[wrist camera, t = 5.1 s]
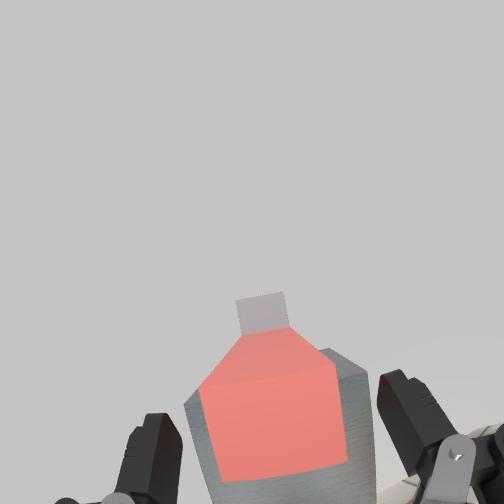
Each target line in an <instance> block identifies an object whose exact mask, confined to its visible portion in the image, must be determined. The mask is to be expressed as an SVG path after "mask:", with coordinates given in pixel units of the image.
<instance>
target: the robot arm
mask: <svg viewBox="0 0 504 504" xmlns="http://www.w3.org/2000/svg"><path fill="white" fill-rule="evenodd" d="M377 408H378V411H379V414H380V416H381V418H382V420H383V422H384V425H385V427H386V429H387V431H388V433H389V435H390V437H391V439H392V441H393V444H394V446H395V448H396V450H397V452H398V454H399V457H400V459H401V461H402V463H403V465H404V468H405V470H406V472H407V474H408V477H411V476H413V475H415V474H417V473H418V475H419V478H420V481H419V484H418V487H417V490H416V492H415V495H414V498H413V501H412V503H411V504H467V503H466V498H467V494H468V490H469V486H472V488H473V490H474V493H475V495H476V497H477V500H478V502H479V504H504V424H502V425H501V426H500V427H499V428H498V430H497V431H496V433H494V434H490V435H486V436H482V437H478V438H470V437H468V436H466V435H462V434H459V433H458V432H457V431H456V430H455V428H454V427H453V425H452V424H451V422H450V421H449V419H448V418H447V416H446V415H445V413H444V412H443V410H442V409H441V407H440V406H439V404H438V403H437V401H436V400H435V398H434V397H433V396H432V395H431V393H430V391H429V389H428V388H427V387H426V385H425V384H424V383H422V382H421V381H419V380H418V379H416V378H415V377H414V378H412V379H409V380H408V379H407V378H406V376H405V374H404V373H403V372H402V371H401V370H400V369H398V370H395V371H392V372H389V373H386V374H383V375H381V376H380V381H379V388H378V396H377ZM182 450H183V444H182V438H181V436H180V434H179V432H178V431H177V429H176V427H175V426H174V424H173V422H172V420H171V419H170V417H169V415H168V414H167V413H149V414H147V415H146V416H145V420H144V424H143V427H138V426H137V427H136V428H135V430H134V431H133V432H132V434H131V435H130V436H129V439H128V443H127V449H126V450H125V454H124V458H123V462H122V465H121V469H120V473H119V477H118V481H117V485H116V489H115V491H114V493H112V494H109V495H108V496H106V497H105V498H104V499H103V500H102V502H97V503H89V504H177V495H178V485H179V475H180V466H181V458H182ZM55 504H79V503H78V502H76V501H75V500H73V499H71V498H62V499H60V500H58V501H57V502H56V503H55Z"/></svg>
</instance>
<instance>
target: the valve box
mask: <svg viewBox="0 0 504 504" xmlns="http://www.w3.org/2000/svg"><path fill="white" fill-rule="evenodd" d="M319 351H320V352H321V353H322V354H323V355H325V356H326V357H327V358H328V359H330V360H331V361H332V362H333V363H335V367H336V373H337V380H338V387H339V394H340V401H341V408H342V416H343V424H344V433H345V442H346V451H347V462H343V463H340V464H336V465H332V466H328V467H324V468H319V469H315V470H310V471H305V472H300V473H295V474H290V475H284V476H277V477H270V478H263V479H255V480H245V481H234V482H222V478H221V475H220V471H219V468H218V465H217V461H216V457H215V454H214V450H213V446H212V443H211V439H210V435H209V431H208V427H207V423H206V419H205V415H204V411H203V407H202V402H201V398H200V394H199V389H197V390H196V391H195V392H194V393H193V394H192V396H191V397H190V398H189V399H188V400H187V401H186V402H185V403H184V407H185V412H186V416H187V419H188V423H189V427H190V431H191V435H192V438H193V442H194V445H195V449H196V452H197V456H198V459H199V462H200V466H201V469H202V472H203V475H204V478H205V481H206V485H207V488H208V491H209V494H210V497H211V500H212V502H213V504H376V469H375V468H376V466H375V447H374V434H373V433H374V432H373V420H372V410H371V400H370V392H369V382H368V374H367V371H366V370H364V369H363V368H361V367H359V366H358V365H356V364H354V363H353V362H351V361H349V360H348V359H346V358H345V357H343V356H342V355H340V354H338V353H337V352H335V351H334V350H332V349H330V348H327V349H323V350H319Z"/></svg>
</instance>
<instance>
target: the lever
mask: <svg viewBox="0 0 504 504" xmlns="http://www.w3.org/2000/svg"><path fill="white" fill-rule="evenodd" d="M236 306H237V311H238V316H239V322H240V327H241V333H242V336H241V337H240V339H239V340H238V341H237V342H236V344H235V345H234V346H233V347H232V348H231V350H230V351H229V352H228V353H227V354H226V356H225V357H224V358H223V359H222V360H221V362H220V363H219V364H218V365H217V366H216V367H215V369H214V370H213V371H212V372H211V373H210V375H209V376H208V377H207V378H206V379H205V380H204V382H203V383H202V384H201V385H200V386H199V387H198V389H199V394H200V398H201V402H202V407H203V411H204V415H205V419H206V423H207V427H208V431H209V435H210V439H211V443H212V446H213V450H214V454H215V457H216V461H217V465H218V468H219V471H220V475H221V478H222V482H234V481H245V480H255V479H263V478H270V477H277V476H284V475H290V474H295V473H300V472H305V471H310V470H315V469H319V468H324V467H328V466H332V465H336V464H340V463H343V462H347V451H346V442H345V433H344V424H343V416H342V408H341V401H340V394H339V387H338V380H337V373H336V367H335V363H333V362H332V361H331V360H330V359H328V358H327V357H326V356H325V355H323V354H322V353H321V352H320V351H319V350H317V349H316V348H315V347H314V346H312V345H311V344H310V343H309V342H307V341H306V340H305V339H304V338H303V337H301V336H300V335H299V334H298V333H297V332H295V331H294V330H293V329H292V328H290V326H289V321H288V315H287V310H286V305H285V300H284V294H283V292H278V293H273V294H268V295H262V296H257V297H251V298H246V299H240V300H236Z"/></svg>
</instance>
